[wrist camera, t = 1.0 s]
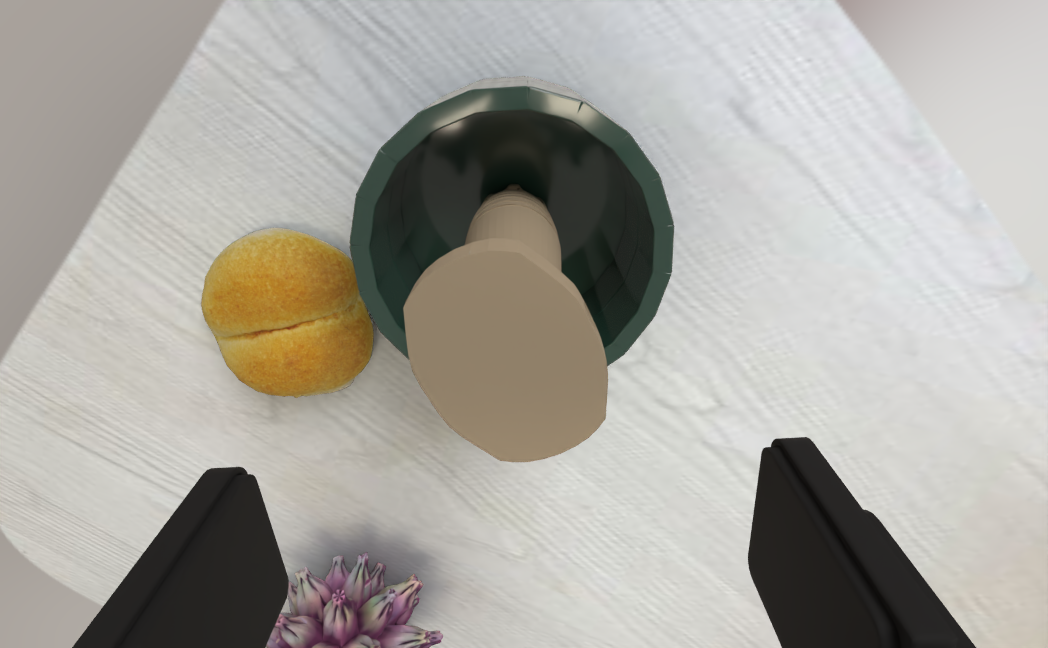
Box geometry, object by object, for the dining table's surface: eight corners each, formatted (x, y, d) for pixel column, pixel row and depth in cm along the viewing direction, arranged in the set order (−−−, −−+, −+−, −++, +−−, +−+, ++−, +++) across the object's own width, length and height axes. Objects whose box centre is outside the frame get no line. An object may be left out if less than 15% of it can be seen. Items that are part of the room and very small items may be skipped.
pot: (366, 86, 27) (319, 99, 20) (643, 67, 27) (682, 74, 20) (407, 333, 32) (380, 403, 26) (637, 319, 32) (666, 387, 26)
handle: (529, 132, 27) (539, 219, 14) (584, 250, 30) (639, 422, 16) (439, 178, 28) (365, 302, 15) (500, 289, 31) (484, 483, 17)
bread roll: (346, 211, 29) (321, 235, 26) (390, 366, 33) (375, 405, 30) (187, 236, 30) (142, 263, 26) (250, 386, 34) (217, 427, 30)
